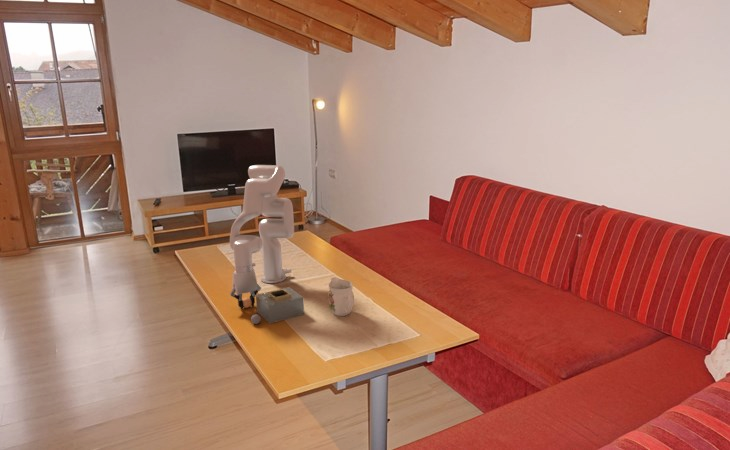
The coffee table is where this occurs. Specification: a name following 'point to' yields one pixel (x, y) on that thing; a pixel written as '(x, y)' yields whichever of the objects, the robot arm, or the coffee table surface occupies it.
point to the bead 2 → (255, 319)
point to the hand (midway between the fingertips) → (246, 306)
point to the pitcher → (340, 296)
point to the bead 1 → (247, 302)
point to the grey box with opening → (279, 304)
